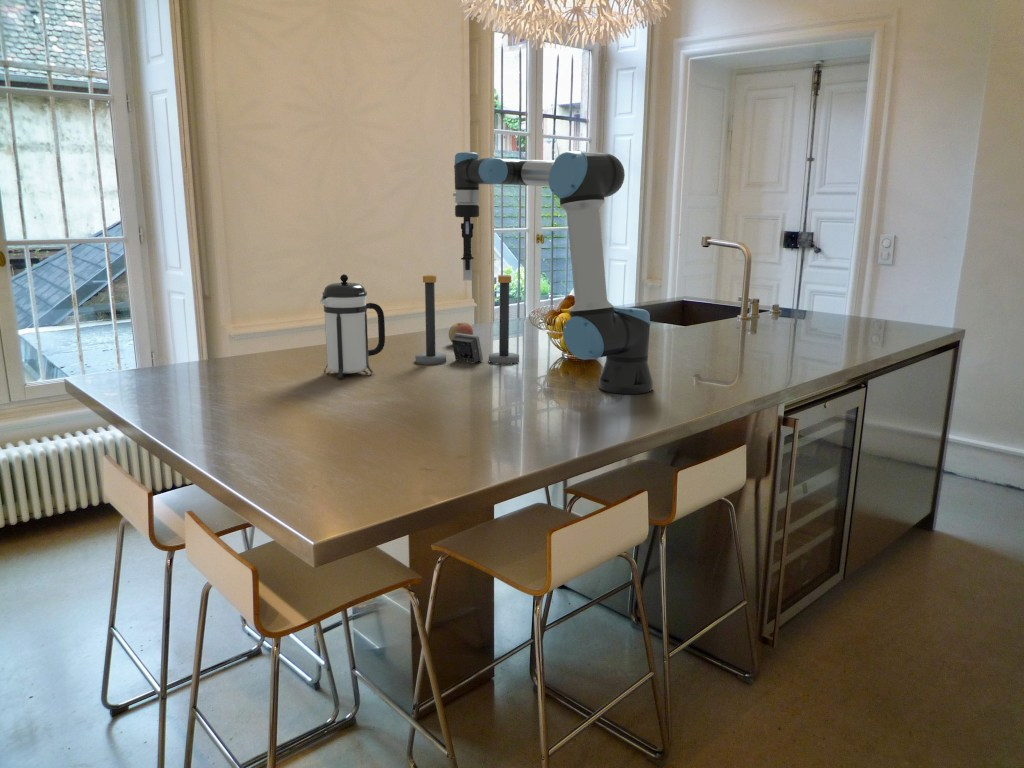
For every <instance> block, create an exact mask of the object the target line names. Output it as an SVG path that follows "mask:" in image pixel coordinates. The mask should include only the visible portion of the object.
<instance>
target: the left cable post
mask: <svg viewBox="0 0 1024 768" xmlns="http://www.w3.org/2000/svg"><path fill="white" fill-rule="evenodd" d="M436 282H437V275H436V274H422V283H424V296H425V297H424V299H425V300H424V302H425V304H424V305H425V308H424V309H425V311H424V313H425V344H426V345H425V352H422V353H416V355H415V356H414V357H415V363H416V364H418V365H423V364H424V365H426V366H434V365H436V364H437V365H442V363H443V364H445V363H446V362H447V354H446V353H442V352H436V303H435V302H436V300H435V299H436V298H435V296H436V294H435V291H436V290H435V283H436ZM437 365H436V366H437Z"/></svg>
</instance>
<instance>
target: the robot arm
mask: <svg viewBox="0 0 1024 768" xmlns="http://www.w3.org/2000/svg"><path fill="white" fill-rule="evenodd" d="M479 156H480V155H479V153H478V152H469V151H467V152H463V151H462V152H461V151H460V152H457V153H456V154H455V155H454V165H453V169H454V170H453V171H454V192H453V193H452V196H453V197H454V203H455V204H456V205H454V217H456V218H463V222H461V223H460V229H461V237H462V239H463V241H462V242H463V247H462V248H463V254H462V257H461V258H460V259H461V260H462V261H463V262H462V264H463V265H462V269H463V271H462V272H463V273H462V274H463V275H462V277H463V281H472V280H473V261H472V260H474V256H472V238H473V237H474V231H473V230H474V223H473V222H472V218H479V216H480V206H479V205H478V204H480V185H489V186H490V185H502V186H503V185H504V186H505V185H512V186H526V187H527V186H531V187H532V186H533V187H549V189H550V191H551V192H552V194H553V195H554V196H555V197H557V198H559V205H560V206H559V207H560V208H561V209H562V210H563V211H565V213H566V219H567V221H566V222H567V229H568V240H569V243H568V244H569V251H570V263H571V274H572V284H573V295H574V304H573V306H572V307H571V308H570V310H569V312H570V313H569V314H570V318H569V319H568V320H567V321H566V322H565V323H564V324H565V325H564V326H563V329H562V330H563V331H562V338H563V341H564V344H565V346H566V348H567V350H568V351H569V352H570V353H571V354H572V355H573V356H574V357H575V358H577V359H580V360H584V361H585V360H598V359H599V358H604V357H606V358H605V363H604V365H603V369H602V370H601V374H600V376H599V378H598V387H599V389H600V390H602V391H604V392H606V393H607V392H608V393H613V394H618V395H619V394H620V395H621V394H622V395H639V394H641V393H642V394H647V393H650V392H651V390H653V389H654V387H653V386H654V380H653V377H652V373H651V369H650V366H649V362H648V361H649V359H648V358H649V345H650V330H651V329H650V327H651V317H650V316H651V314H650V312H649V311H648V310H646V309H642V308H636V307H628V306H619V305H613V304H612V303H611V302H610V301H609V300H608V294H607V283H606V282H607V281H606V271H605V260H604V246H603V239H602V237H603V236H602V235H603V234H602V227H601V216H600V215H601V214H600V209H601V207H602V206H603V204H604V203H605V198H608V197H611V196H613V195H615V194H616V193H617V192H618V191H619V190H620V189H621V188H622V186H623V184H624V181H625V176H626V175H625V169H624V165H623V164H622V162H621V161H620V159H619V158H617V157H616V156H615V155H613V154H610V153H608V152H607V153H606V152H596V151H595V152H594V151H593V152H592V151H584V150H583V151H582V150H573V151H572V150H571V151H564V152H562V153H560V154H559V155H558V156H557V157H555V159H554V160H553V159H552V160H550V159H549V160H544V159H509V158H508V159H507V158H506V159H505V158H500V157H491V156H490V157H485V158H480V157H479ZM649 391H650V392H649Z"/></svg>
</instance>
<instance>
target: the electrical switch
mask: <svg viewBox="0 0 1024 768" xmlns="http://www.w3.org/2000/svg"><path fill="white" fill-rule="evenodd" d="M451 344H452V348H453V349H452V350H453V353H454V357H455V358H454V359H455V361H456V360H460V361H459V362H462V361H468V362H474V363H473V364H476V363H479V362H478V361H481V362H483V361H484V359H483V352H482V348H481V347H482V346H481V342H480V336H479V335H476V334H473V335H469V334H461V333H456V334H455V337H454V339H452V342H451ZM468 362H467V363H468ZM475 362H476V363H475Z"/></svg>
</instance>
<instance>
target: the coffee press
mask: <svg viewBox="0 0 1024 768" xmlns="http://www.w3.org/2000/svg"><path fill="white" fill-rule="evenodd" d="M339 279H340V281H341V282H334V283H330V284H327V285H326V286H325V287H324V289H323V291H322V296H321V298H320V300H319V304H320V305H323V312H324V323H325V324H324V325H325V346H326V347H325V348H326V367H325V368H324V369H323V374H325V375H328V374H329V373H331V372H333V373H334V374H335V373H336V374H337V379H338V380H344V378H345V375H346V374H354V373H361V372H363V373H365V374H366V375H367V376H369V377H371V376H372V375H373V370H372V368H371V367H370V365H369V363H370V362H369V357H371V356H375V355H378V354H380V353H381V352H382V351H383V350H384V347H385V343H386V328H385V327H386V326H385V322H386V321H385V313H384V311H383V308H382V307H381V306H380V305H379V304H377V303H373V302H368V303H367V296H368V295H367V294H368V291H366V289H365V287H364V286H363V285H362V284H360V283H356V282H348V280H349V276H348V275H347V274H344V273H343V274H341V275H340V278H339ZM369 309H371V310H372V309H373V310H374V311H375V312H376V314H377V326H378V329H377V331H378V342H377V343H378V344H377V346H376V347H375V348H373V349H369V344H368V343H369V341H368V340H369V338H368V335H369V334H368V315H367V310H369ZM327 369H328V370H329V371H328V372H327ZM367 369H368V371H370V373H369V372H368V371H367Z"/></svg>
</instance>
